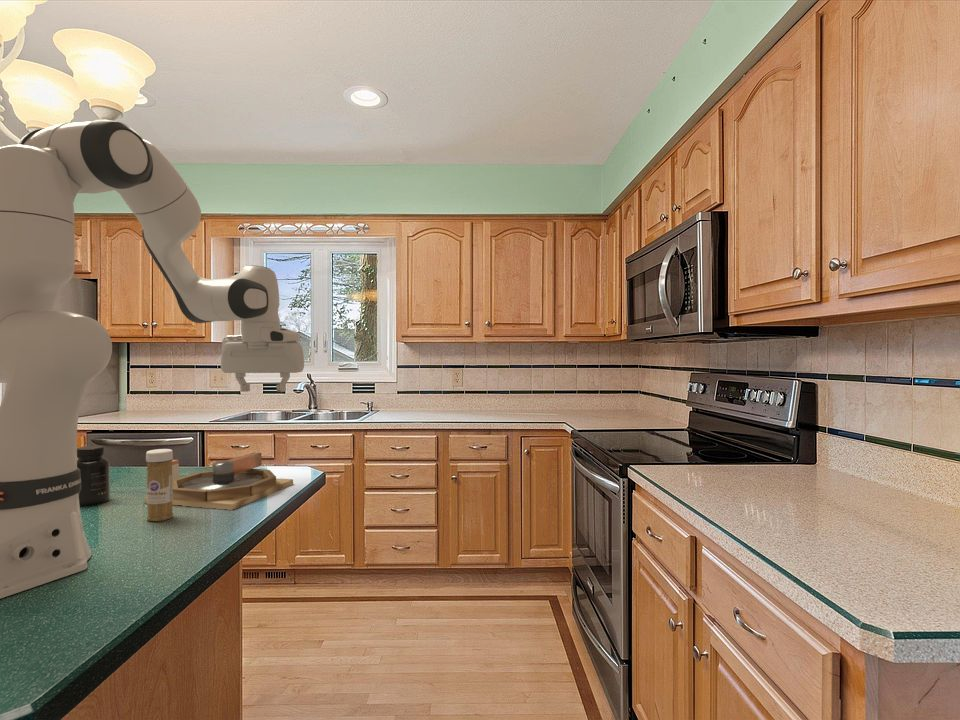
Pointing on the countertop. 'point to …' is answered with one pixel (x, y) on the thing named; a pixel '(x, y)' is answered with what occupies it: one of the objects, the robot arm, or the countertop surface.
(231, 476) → the dial
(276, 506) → the countertop surface
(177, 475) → the post
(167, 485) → the sprinkles bottle
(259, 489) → the dial housing
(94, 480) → the supplement bottle
